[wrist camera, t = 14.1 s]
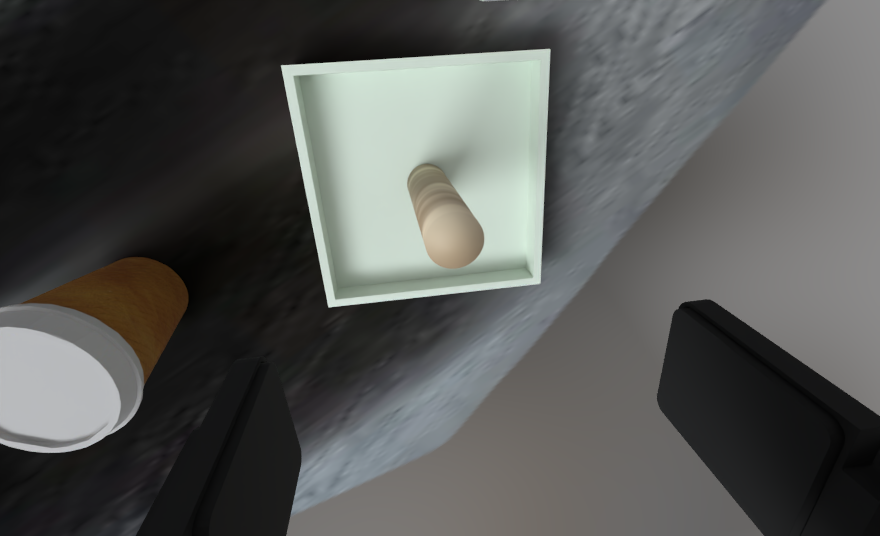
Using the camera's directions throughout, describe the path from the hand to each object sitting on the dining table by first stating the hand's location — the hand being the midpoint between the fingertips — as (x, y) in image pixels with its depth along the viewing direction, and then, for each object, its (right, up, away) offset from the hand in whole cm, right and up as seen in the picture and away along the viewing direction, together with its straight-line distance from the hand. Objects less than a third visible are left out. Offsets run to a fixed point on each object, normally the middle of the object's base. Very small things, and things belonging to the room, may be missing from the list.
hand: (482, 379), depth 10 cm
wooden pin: (-2, +9, +22) cm, 24 cm away
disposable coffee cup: (-24, +1, +24) cm, 34 cm away
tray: (-2, +9, +23) cm, 25 cm away
